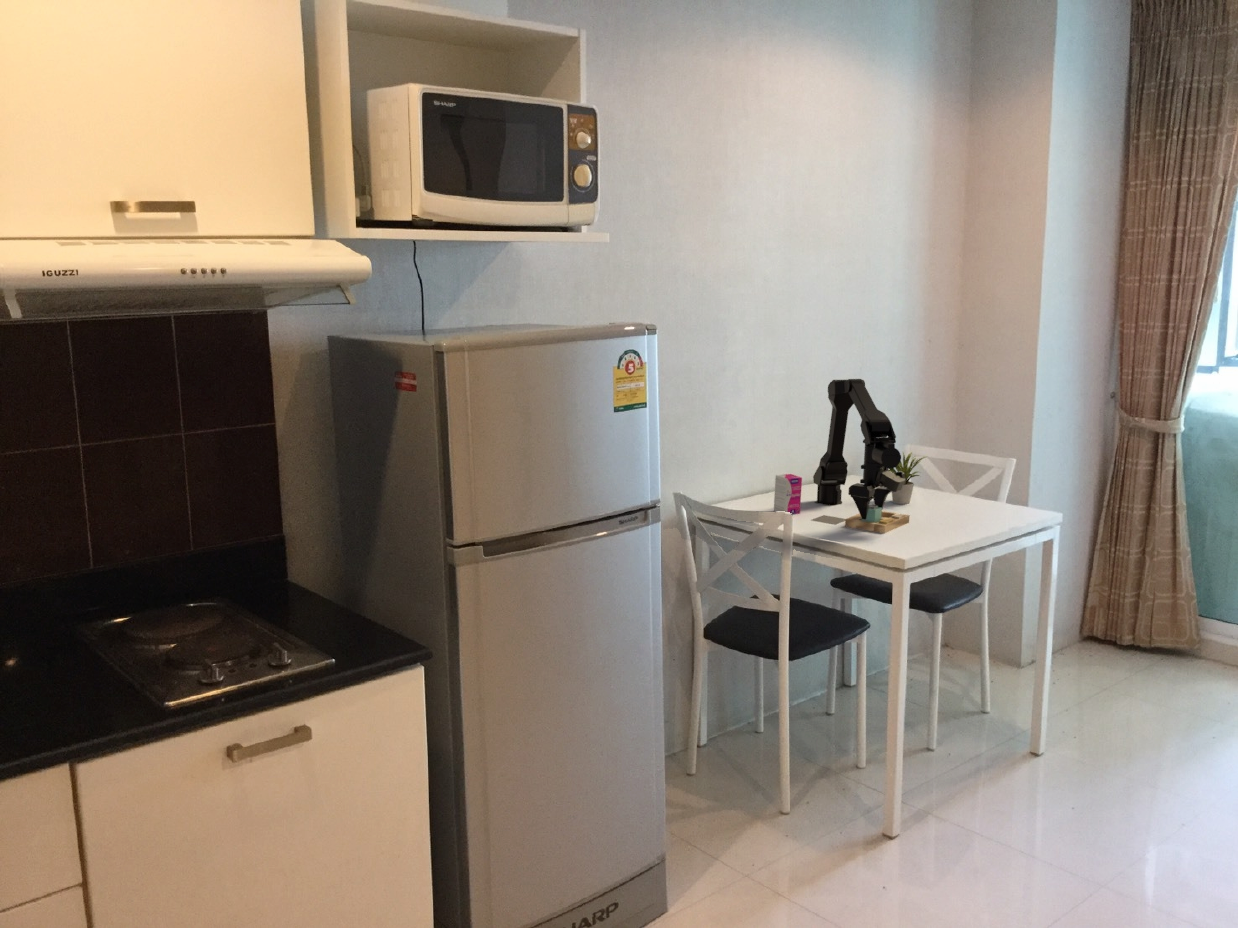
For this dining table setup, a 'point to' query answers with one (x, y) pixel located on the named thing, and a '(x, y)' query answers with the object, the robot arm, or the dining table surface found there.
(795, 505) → the supplement box
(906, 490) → the house plant
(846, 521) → the socket block
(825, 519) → the mat
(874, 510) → the plug
